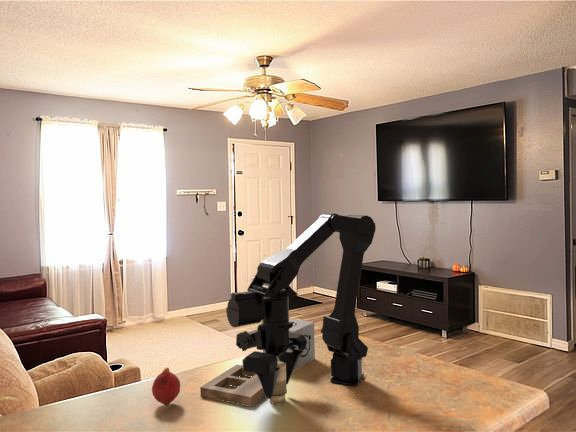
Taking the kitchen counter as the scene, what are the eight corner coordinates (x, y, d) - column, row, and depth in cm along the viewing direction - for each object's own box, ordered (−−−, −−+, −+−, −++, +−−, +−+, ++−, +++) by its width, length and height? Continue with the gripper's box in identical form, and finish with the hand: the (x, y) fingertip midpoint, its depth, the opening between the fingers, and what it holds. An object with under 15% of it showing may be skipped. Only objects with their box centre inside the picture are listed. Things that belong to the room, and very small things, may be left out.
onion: (173, 412, 95) (172, 374, 95) (147, 410, 96) (146, 372, 96) (185, 399, 101) (183, 363, 100) (160, 398, 102) (159, 362, 101)
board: (282, 380, 110) (282, 372, 110) (250, 406, 97) (250, 397, 97) (236, 372, 116) (236, 364, 116) (200, 395, 102) (200, 387, 102)
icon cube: (284, 352, 130) (283, 317, 130) (314, 358, 124) (314, 322, 124) (263, 363, 122) (262, 326, 121) (294, 370, 116) (293, 331, 116)
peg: (290, 399, 100) (289, 362, 99) (281, 406, 96) (280, 369, 96) (273, 395, 102) (272, 360, 101) (264, 403, 98) (263, 366, 98)
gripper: (263, 306, 110) (265, 370, 111) (219, 326, 93) (221, 401, 94) (306, 310, 105) (307, 377, 106) (267, 332, 88) (269, 412, 89)
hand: (277, 390), depth 99 cm, fingers open, 7 cm apart
